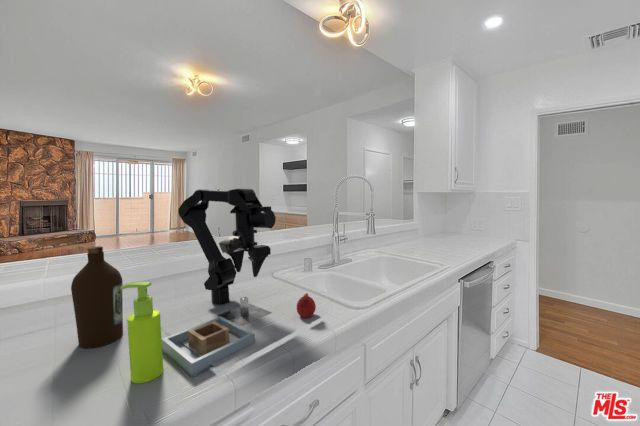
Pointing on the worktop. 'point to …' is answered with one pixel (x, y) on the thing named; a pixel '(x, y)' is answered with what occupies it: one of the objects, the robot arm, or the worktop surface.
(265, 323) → the worktop surface
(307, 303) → the onion
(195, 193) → the robot arm
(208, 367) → the light blue frame
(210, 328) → the open wooden box frame
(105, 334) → the olive oil
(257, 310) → the stake base
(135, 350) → the soap dispenser
